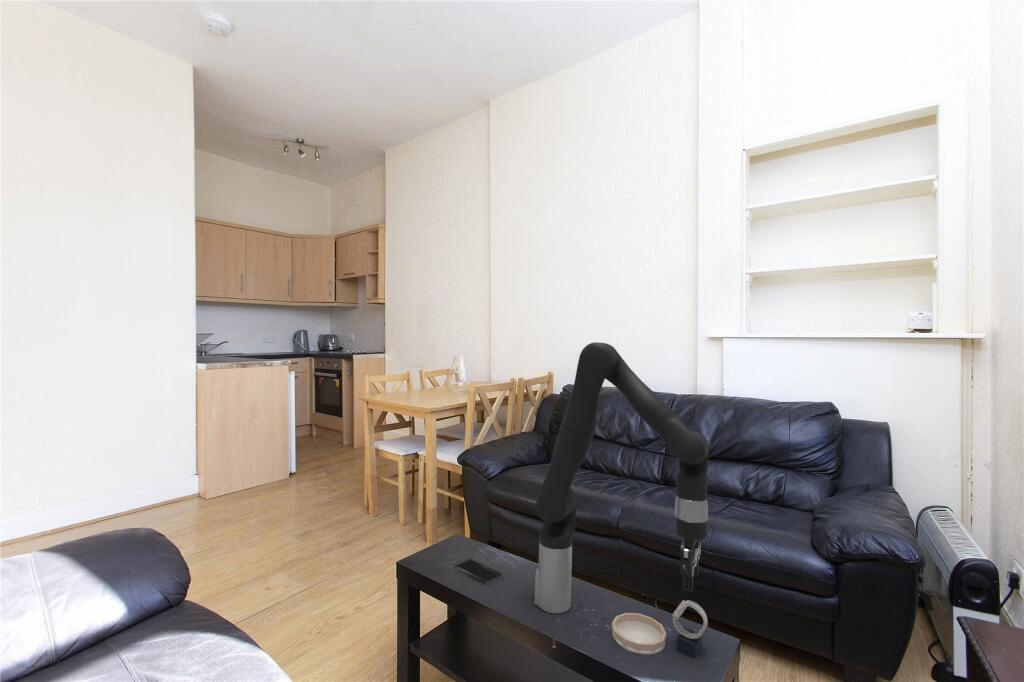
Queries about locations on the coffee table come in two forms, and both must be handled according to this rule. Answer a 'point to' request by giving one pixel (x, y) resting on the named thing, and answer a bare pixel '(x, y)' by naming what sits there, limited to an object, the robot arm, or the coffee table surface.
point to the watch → (689, 639)
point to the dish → (638, 633)
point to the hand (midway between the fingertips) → (690, 582)
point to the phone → (478, 571)
